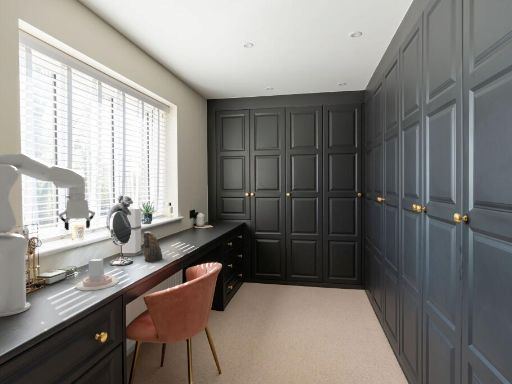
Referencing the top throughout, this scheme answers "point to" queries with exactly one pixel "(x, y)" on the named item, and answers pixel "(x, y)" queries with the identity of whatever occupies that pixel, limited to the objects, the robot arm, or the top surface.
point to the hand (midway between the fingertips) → (77, 228)
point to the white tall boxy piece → (134, 234)
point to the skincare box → (96, 270)
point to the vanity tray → (80, 287)
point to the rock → (151, 248)
